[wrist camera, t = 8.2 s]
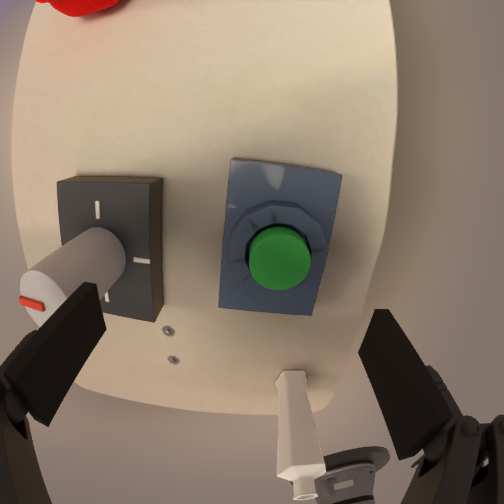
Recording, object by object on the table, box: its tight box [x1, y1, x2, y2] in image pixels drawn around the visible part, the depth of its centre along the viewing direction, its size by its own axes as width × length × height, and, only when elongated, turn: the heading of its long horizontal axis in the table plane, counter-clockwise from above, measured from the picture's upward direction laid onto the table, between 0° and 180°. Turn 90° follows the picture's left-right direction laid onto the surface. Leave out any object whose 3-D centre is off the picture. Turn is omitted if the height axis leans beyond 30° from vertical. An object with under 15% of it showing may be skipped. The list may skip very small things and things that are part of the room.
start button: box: [249, 226, 311, 290], centre depth 18 cm, size 4×4×2 cm
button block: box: [218, 158, 342, 316], centre depth 21 cm, size 12×8×4 cm, turn 174°
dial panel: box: [57, 176, 164, 322], centre depth 21 cm, size 12×9×3 cm
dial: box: [19, 227, 126, 327], centre depth 16 cm, size 5×5×8 cm
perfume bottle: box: [275, 370, 326, 500], centre depth 22 cm, size 5×4×15 cm
